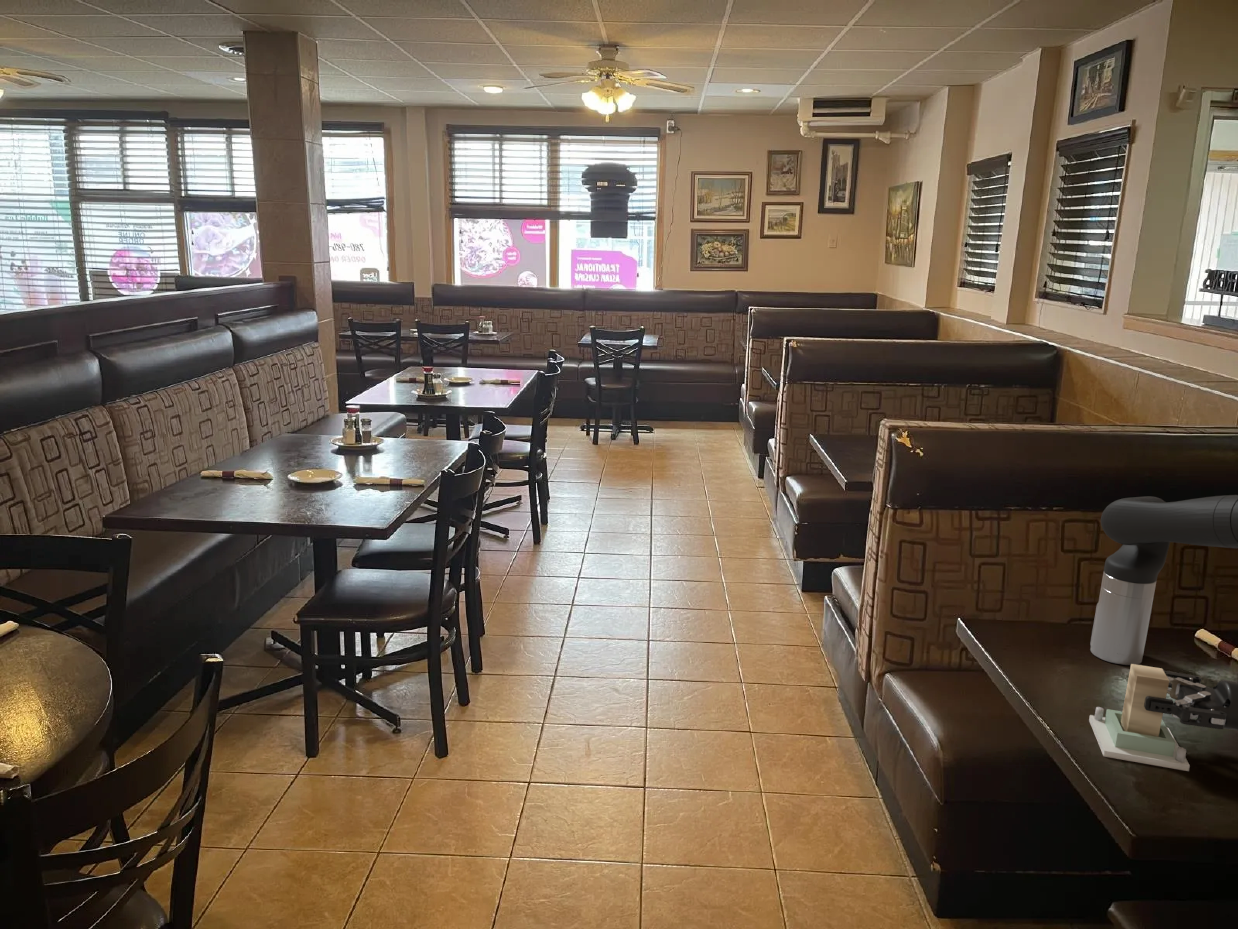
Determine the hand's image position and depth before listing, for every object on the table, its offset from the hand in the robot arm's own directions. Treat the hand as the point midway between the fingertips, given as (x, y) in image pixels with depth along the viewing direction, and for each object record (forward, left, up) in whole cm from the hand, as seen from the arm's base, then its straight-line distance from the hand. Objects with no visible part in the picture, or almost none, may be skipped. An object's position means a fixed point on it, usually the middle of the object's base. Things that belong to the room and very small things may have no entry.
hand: (1138, 690), depth 143 cm
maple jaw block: (0, +1, -8) cm, 9 cm away
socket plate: (0, +1, -9) cm, 10 cm away
